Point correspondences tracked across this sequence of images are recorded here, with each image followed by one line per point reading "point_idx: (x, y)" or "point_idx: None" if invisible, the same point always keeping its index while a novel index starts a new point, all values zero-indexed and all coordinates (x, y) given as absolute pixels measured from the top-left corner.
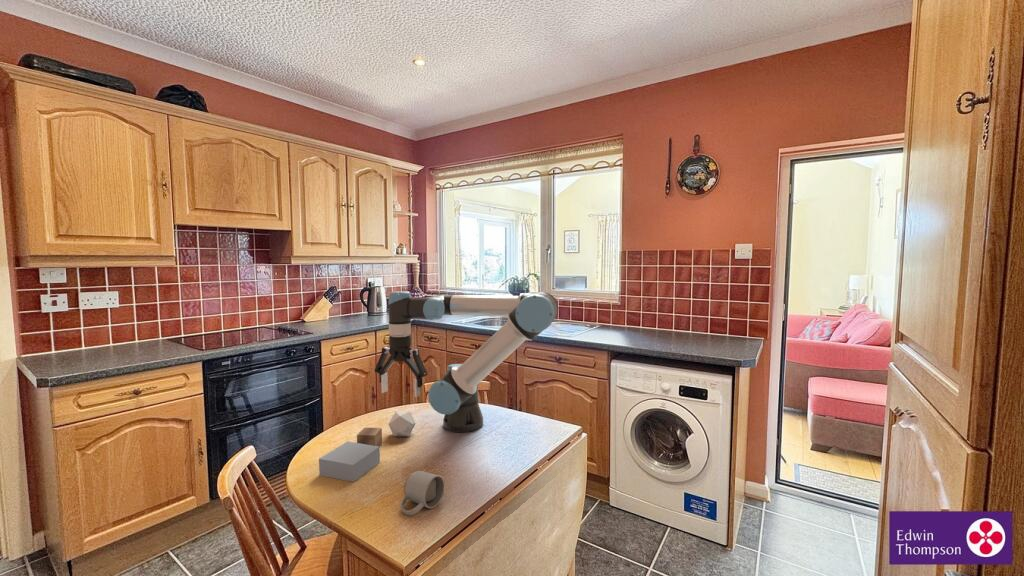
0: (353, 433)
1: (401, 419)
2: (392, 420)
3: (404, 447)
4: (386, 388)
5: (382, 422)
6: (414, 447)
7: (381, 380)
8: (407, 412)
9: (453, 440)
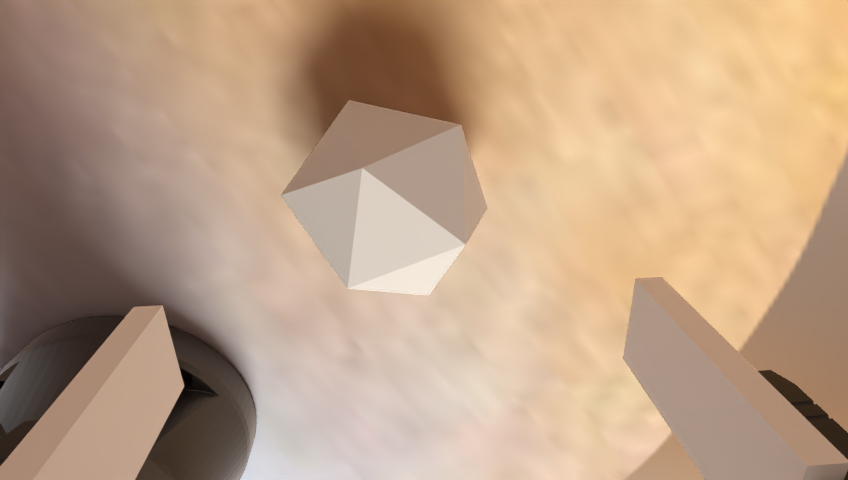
0: (718, 78)
1: (346, 160)
2: (434, 148)
3: (241, 4)
4: (643, 360)
5: (619, 281)
6: (175, 30)
7: (766, 383)
8: (353, 260)
9: (18, 216)
